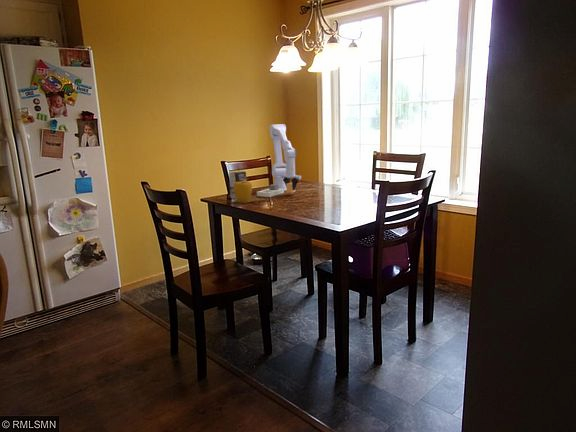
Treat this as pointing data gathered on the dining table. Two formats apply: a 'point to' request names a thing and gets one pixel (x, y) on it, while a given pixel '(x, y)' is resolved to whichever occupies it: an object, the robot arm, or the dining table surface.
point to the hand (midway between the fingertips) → (291, 189)
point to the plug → (290, 188)
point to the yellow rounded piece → (243, 191)
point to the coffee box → (236, 180)
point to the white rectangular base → (270, 191)
